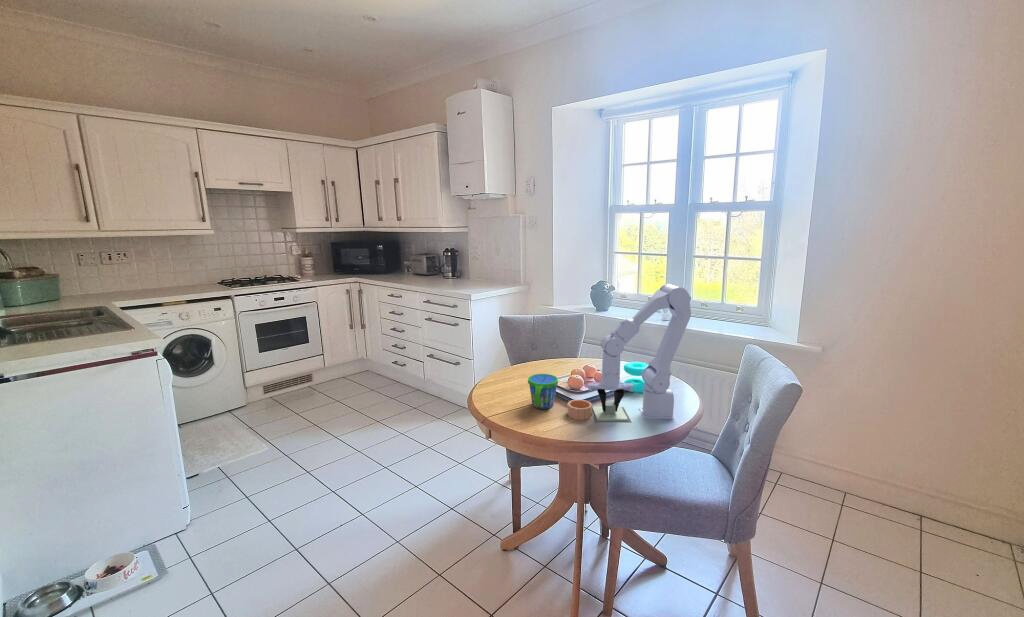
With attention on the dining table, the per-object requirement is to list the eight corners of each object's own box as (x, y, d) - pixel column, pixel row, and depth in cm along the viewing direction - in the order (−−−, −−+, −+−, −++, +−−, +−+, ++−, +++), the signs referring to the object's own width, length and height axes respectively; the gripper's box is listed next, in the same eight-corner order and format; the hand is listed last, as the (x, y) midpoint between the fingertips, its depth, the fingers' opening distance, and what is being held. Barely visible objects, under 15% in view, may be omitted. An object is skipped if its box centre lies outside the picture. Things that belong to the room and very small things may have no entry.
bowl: (589, 410, 150) (590, 399, 149) (593, 420, 142) (593, 409, 141) (566, 410, 150) (566, 399, 149) (568, 420, 142) (569, 409, 141)
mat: (623, 408, 151) (623, 407, 151) (631, 423, 140) (631, 422, 140) (588, 408, 152) (588, 406, 152) (594, 423, 140) (594, 422, 140)
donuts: (621, 360, 172) (646, 360, 172) (620, 384, 174) (645, 384, 174) (627, 368, 162) (654, 368, 162) (626, 394, 164) (652, 394, 164)
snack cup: (549, 416, 145) (549, 388, 143) (520, 411, 149) (520, 383, 147) (563, 400, 159) (564, 373, 157) (537, 395, 163) (537, 369, 161)
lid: (621, 408, 150) (621, 397, 150) (627, 420, 141) (628, 409, 140) (592, 408, 151) (592, 397, 150) (597, 420, 141) (597, 409, 140)
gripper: (590, 375, 139) (589, 415, 142) (636, 375, 139) (634, 415, 141) (587, 368, 146) (586, 406, 149) (630, 368, 146) (629, 406, 148)
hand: (609, 410), depth 145 cm, fingers closed on lid, 3 cm apart
